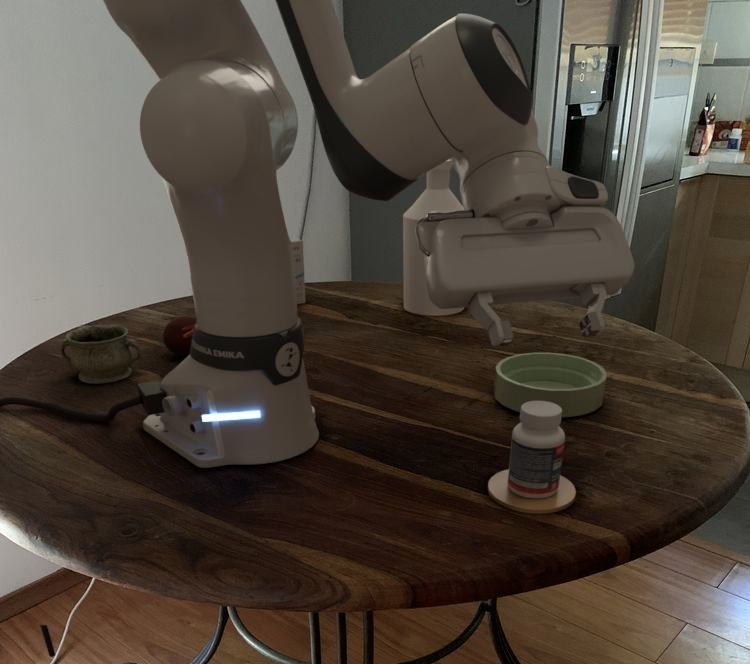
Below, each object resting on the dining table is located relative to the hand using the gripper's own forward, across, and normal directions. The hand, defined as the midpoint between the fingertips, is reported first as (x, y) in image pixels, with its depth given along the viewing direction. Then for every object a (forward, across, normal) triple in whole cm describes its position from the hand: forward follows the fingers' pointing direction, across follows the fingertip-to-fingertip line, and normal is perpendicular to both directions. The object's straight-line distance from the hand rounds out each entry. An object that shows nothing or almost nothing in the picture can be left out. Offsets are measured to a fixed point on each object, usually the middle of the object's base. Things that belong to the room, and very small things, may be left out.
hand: (549, 338), depth 68 cm
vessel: (-24, -42, +49) cm, 69 cm away
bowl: (-4, +14, +28) cm, 31 cm away
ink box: (-45, -10, +69) cm, 83 cm away
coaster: (+11, 0, +12) cm, 17 cm away
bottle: (-37, +16, +61) cm, 73 cm away
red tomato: (-27, -29, +52) cm, 65 cm away
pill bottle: (+11, 0, +12) cm, 16 cm away
